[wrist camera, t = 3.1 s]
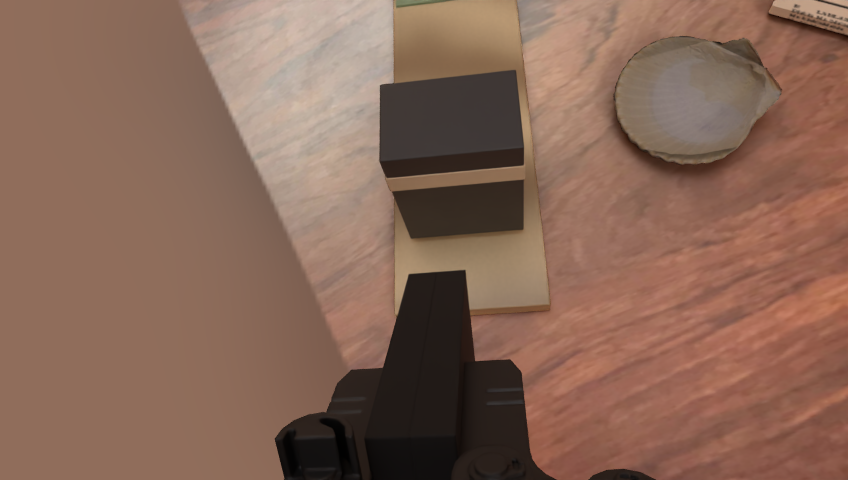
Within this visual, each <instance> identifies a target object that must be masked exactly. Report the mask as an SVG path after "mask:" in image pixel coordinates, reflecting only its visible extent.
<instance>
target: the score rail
mask: <svg viewBox="0 0 848 480" xmlns="http://www.w3.org/2000/svg"><path fill="white" fill-rule="evenodd" d="M507 70H516V74H517V83H518V93H519V102H520V111H521V121H522V130H523V140H524V157H525V179H524V229H523V230H512V231H500V232H488V233H475V234H463V235H450V236H438V237H426V238H413V239H411V238H410V235H409V233H408V230H407V228H406V226H405V223H404V221H403V218H402V216H401V213H400V211H399V208H398V206H397V203H396V201H395V198H394V314H395V316H396V317H397V315H398V312H399V308H400V304H401V301H402V297H403V293H404V290H405V286H406V282H407V279H408V275H409V274H415V273H428V272H442V271H455V270H466V279H467V289H468V299H469V308H470V315H484V314H499V313H515V312H530V311H546V310H550V305H551V302H550V293H549V284H548V275H547V267H546V258H545V249H544V240H543V231H542V222H541V213H540V205H539V196H538V187H537V178H536V169H535V160H534V151H533V143H532V134H531V125H530V116H529V107H528V98H527V89H526V81H525V72H524V63H523V54H522V45H521V36H520V27H519V19H518V10H517V1H516V0H394V83H401V82H410V81H418V80H427V79H436V78H445V77H454V76H463V75H472V74H481V73H489V72H498V71H507Z"/></svg>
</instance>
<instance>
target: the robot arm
mask: <svg viewBox="0 0 848 480" xmlns="http://www.w3.org/2000/svg"><path fill="white" fill-rule="evenodd" d="M275 442H276V446H277V450H278V454H279V458H280V462H281V466H282V470H283V474H284V478H285V479H284V480H556V479H554V478H552V477H550V476H549V475H547V474H545V473H544V472H543V471H542V470H540V469H539V468H538V467H537V465H536V464H535V462H534V461H533V460H532V456H531V453H530V447H529V438H528V428H527V419H526V410H525V401H524V391H523V382H522V373H521V371H520V370H519V369H518V368H517V367H516V365H515V364H514V363H513V362H512V361H511V360H510V359H509V360H491V361H475V356H474V347H473V337H472V327H471V318H470V308H469V299H468V289H467V279H466V270H455V271H442V272H428V273H415V274H409V275H408V279H407V282H406V286H405V290H404V293H403V297H402V301H401V304H400V308H399V312H398V315H397V319H396V323H395V326H394V330H393V334H392V337H391V341H390V345H389V348H388V352H387V356H386V359H385V363H384V367H383V368H375V369H357V370H351V371H350V372H349V373H348V374H347V375H346V376H345V377H343V378H342V379H341V380H340V381H339V382H338V383H337V386H336V388H335V391H334V394H333V396H332V400H331V402H330V404H329V406H328V409H327V412H326V413H325V412H321V413H316V414H309V415H306V416H304V417H301V418H299V419H296V420H294V421H293V422H291V423H290V424H288V425H287V426H285V427H284V428H283V429H282V430H281V431H280V432H279V434H278V435H277V437H276V438H275ZM589 480H655V479H653V478H651V477H649V476H647V475H645V474H643V473H641V472H637V471H632V470H627V469H614V470H606V471H603V472H600V473H598V474H595V475H593V476H592V477H591V478H590V479H589Z"/></svg>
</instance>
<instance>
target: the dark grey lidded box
mask: <svg viewBox="0 0 848 480" xmlns="http://www.w3.org/2000/svg"><path fill="white" fill-rule="evenodd" d="M379 161H380V164H381V166H382V169H383V171H384V174H385V180H386V182H387V184H388V187H389V189H390V191H392V193H393V196H394V198H395V201H396V203H397V206H398V208H399V211H400V213H401V216H402V218H403V221H404V223H405V226H406V228H407V230H408V233H409V235H410V238H411V239H413V238H426V237H438V236H450V235H463V234H475V233H488V232H500V231H512V230H523V229H524V179H525V157H524V140H523V130H522V121H521V111H520V102H519V93H518V83H517V74H516V70H507V71H498V72H489V73H481V74H472V75H463V76H454V77H445V78H436V79H427V80H418V81H410V82H401V83H392V84H383V85H380V158H379Z"/></svg>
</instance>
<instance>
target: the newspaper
mask: <svg viewBox="0 0 848 480" xmlns="http://www.w3.org/2000/svg"><path fill="white" fill-rule="evenodd" d="M769 14H773V15H777V16H780V17H784V18H787V19H791V20H794V21H798V22H802V23H805V24H809V25H812V26H816V27H820V28H823V29H827V30H830V31H834V32H837V33H841V34H845V35H848V0H774V2H773V4H772V7H771V8H770V10H769Z"/></svg>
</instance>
